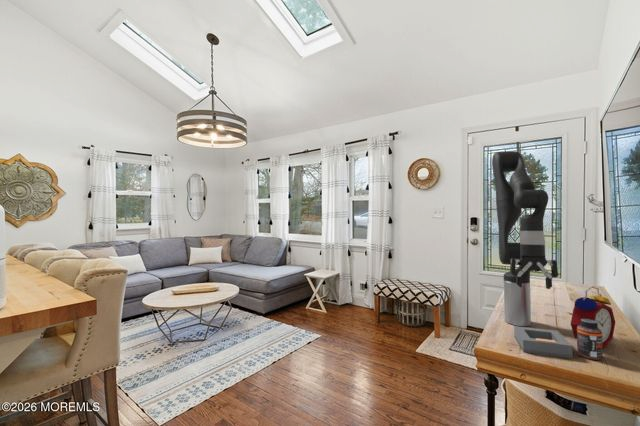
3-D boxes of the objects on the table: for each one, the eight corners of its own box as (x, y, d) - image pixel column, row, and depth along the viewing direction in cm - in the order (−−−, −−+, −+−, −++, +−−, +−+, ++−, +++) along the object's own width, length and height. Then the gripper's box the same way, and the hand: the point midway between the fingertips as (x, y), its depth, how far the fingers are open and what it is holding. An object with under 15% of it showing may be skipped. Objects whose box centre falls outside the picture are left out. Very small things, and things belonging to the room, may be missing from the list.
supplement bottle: (601, 363, 90) (600, 325, 91) (575, 356, 95) (574, 320, 95) (603, 356, 94) (602, 320, 94) (579, 350, 99) (578, 316, 99)
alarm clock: (593, 352, 97) (591, 290, 97) (562, 342, 105) (561, 285, 105) (616, 344, 103) (615, 285, 103) (586, 335, 111) (585, 281, 111)
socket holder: (514, 337, 110) (514, 325, 110) (557, 342, 105) (557, 329, 106) (523, 352, 98) (523, 338, 98) (572, 358, 93) (572, 344, 93)
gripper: (552, 243, 111) (554, 287, 110) (507, 242, 117) (509, 284, 116) (559, 244, 105) (561, 291, 104) (511, 243, 110) (513, 288, 109)
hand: (533, 287), depth 110 cm, fingers open, 8 cm apart
